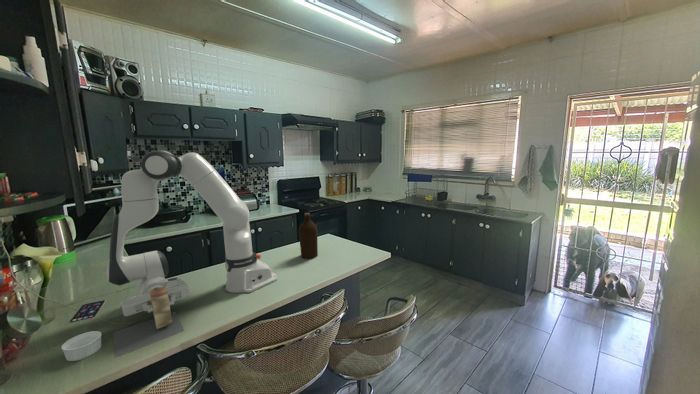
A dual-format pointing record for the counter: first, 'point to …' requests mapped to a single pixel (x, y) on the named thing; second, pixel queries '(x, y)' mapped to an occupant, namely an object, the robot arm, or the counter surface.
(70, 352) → the ramekin
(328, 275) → the counter surface
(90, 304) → the smartphone
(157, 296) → the birch block
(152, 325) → the rubber mat
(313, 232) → the olive oil
